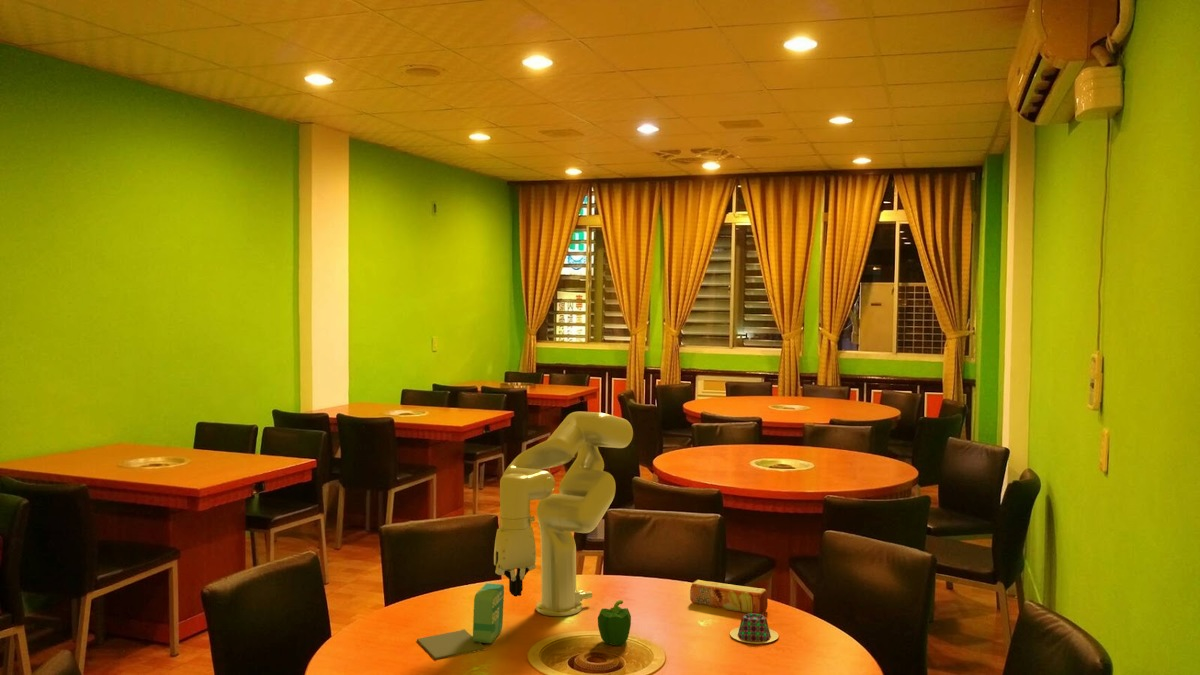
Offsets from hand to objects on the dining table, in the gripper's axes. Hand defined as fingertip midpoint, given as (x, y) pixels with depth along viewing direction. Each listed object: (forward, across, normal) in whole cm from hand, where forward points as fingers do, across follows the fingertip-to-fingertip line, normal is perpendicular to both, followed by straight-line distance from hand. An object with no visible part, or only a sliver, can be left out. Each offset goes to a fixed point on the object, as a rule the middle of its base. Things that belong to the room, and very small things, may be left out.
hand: (515, 594), depth 227 cm
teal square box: (+10, +8, 0) cm, 12 cm away
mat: (+10, +18, 0) cm, 20 cm away
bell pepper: (+10, -18, +19) cm, 28 cm away
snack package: (+10, -58, +13) cm, 60 cm away
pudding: (+10, -50, +33) cm, 61 cm away
